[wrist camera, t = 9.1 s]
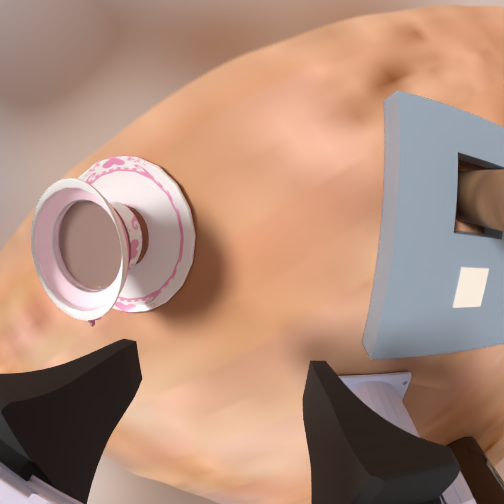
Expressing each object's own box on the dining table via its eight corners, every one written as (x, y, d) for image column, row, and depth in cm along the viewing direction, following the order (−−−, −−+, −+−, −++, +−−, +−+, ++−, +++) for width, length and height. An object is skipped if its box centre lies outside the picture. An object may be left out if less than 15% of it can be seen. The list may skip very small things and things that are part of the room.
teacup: (62, 167, 19) (10, 166, 13) (194, 147, 18) (161, 130, 12) (76, 304, 22) (33, 332, 16) (202, 315, 21) (177, 359, 15)
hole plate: (492, 332, 19) (507, 344, 16) (361, 342, 20) (371, 361, 17) (517, 145, 15) (535, 143, 13) (383, 100, 16) (398, 89, 14)
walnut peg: (479, 223, 17) (547, 241, 10) (444, 219, 18) (515, 238, 10) (481, 174, 16) (550, 176, 9) (446, 167, 17) (518, 162, 9)
